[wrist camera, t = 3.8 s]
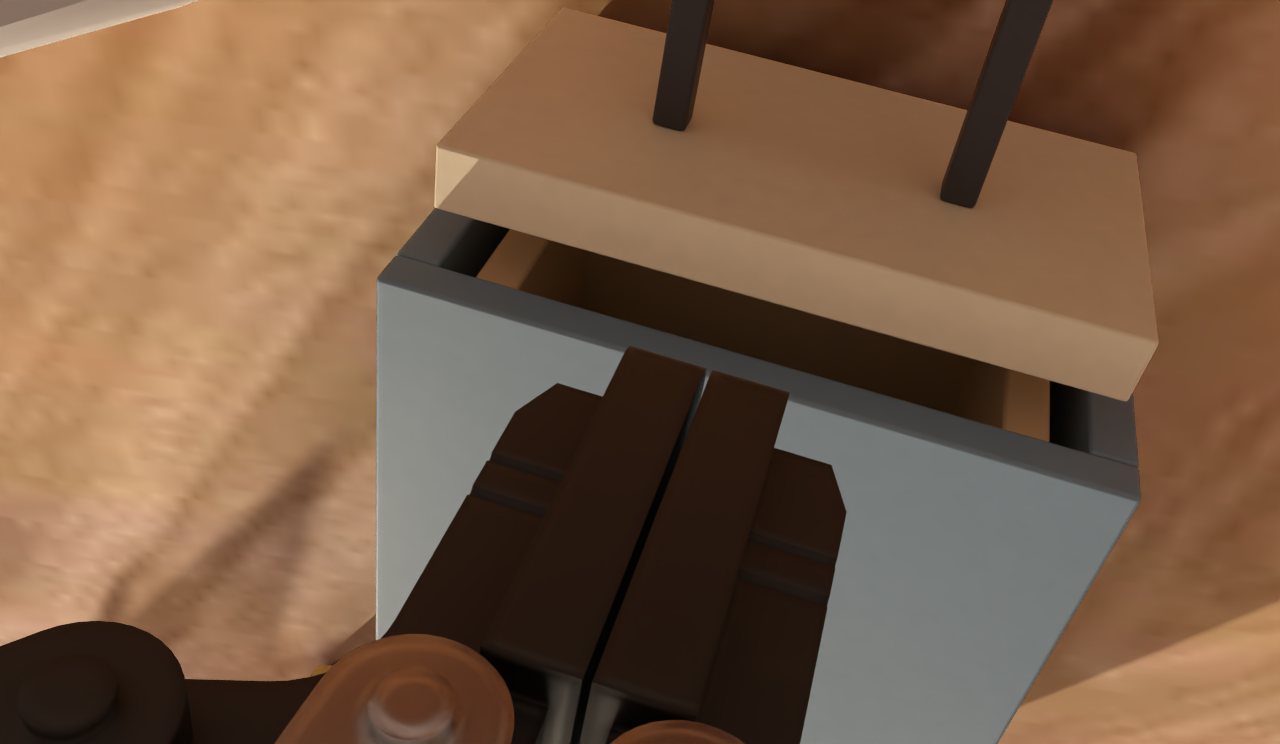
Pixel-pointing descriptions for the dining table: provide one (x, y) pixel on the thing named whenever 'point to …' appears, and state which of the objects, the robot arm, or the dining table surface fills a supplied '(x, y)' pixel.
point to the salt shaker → (67, 19)
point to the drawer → (813, 215)
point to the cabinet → (811, 427)
